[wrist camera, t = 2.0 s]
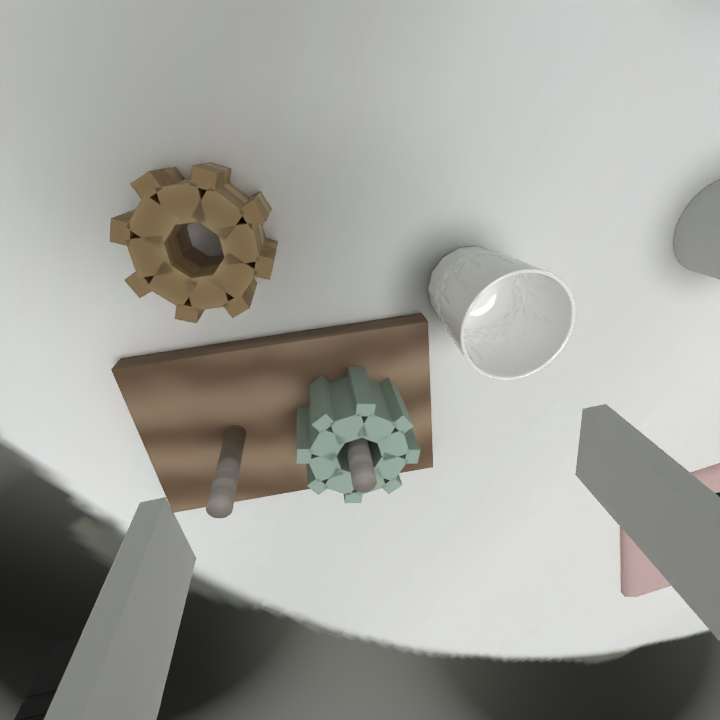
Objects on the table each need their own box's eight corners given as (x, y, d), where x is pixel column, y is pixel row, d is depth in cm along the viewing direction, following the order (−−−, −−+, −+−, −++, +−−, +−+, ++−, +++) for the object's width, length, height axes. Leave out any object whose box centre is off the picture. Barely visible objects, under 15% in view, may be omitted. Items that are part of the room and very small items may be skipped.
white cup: (462, 219, 34) (520, 243, 25) (527, 272, 37) (599, 311, 28) (403, 297, 36) (436, 345, 28) (468, 342, 39) (517, 398, 30)
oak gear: (124, 173, 30) (86, 178, 24) (261, 156, 30) (253, 158, 25) (167, 302, 34) (143, 331, 29) (286, 285, 35) (284, 310, 29)
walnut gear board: (120, 358, 36) (53, 437, 26) (421, 313, 37) (465, 371, 28) (178, 497, 43) (143, 600, 33) (427, 454, 45) (463, 539, 35)
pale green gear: (282, 387, 37) (279, 428, 31) (388, 353, 36) (403, 389, 31) (318, 467, 41) (321, 515, 36) (412, 437, 41) (429, 481, 36)
